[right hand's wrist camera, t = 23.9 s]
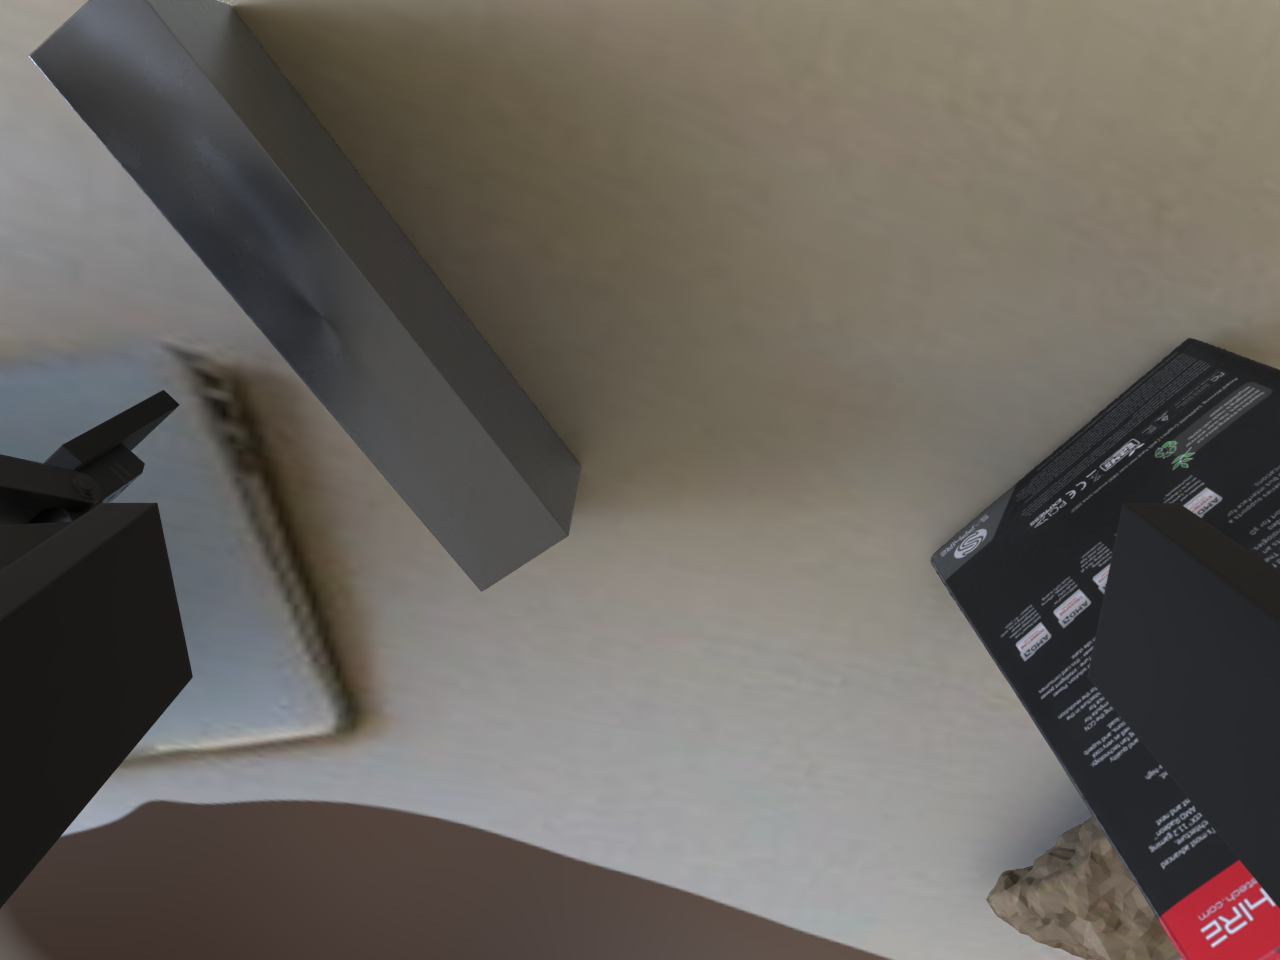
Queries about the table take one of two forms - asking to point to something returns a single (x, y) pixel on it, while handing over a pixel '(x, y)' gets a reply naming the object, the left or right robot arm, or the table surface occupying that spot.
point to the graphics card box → (1071, 604)
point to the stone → (1082, 902)
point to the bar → (319, 269)
